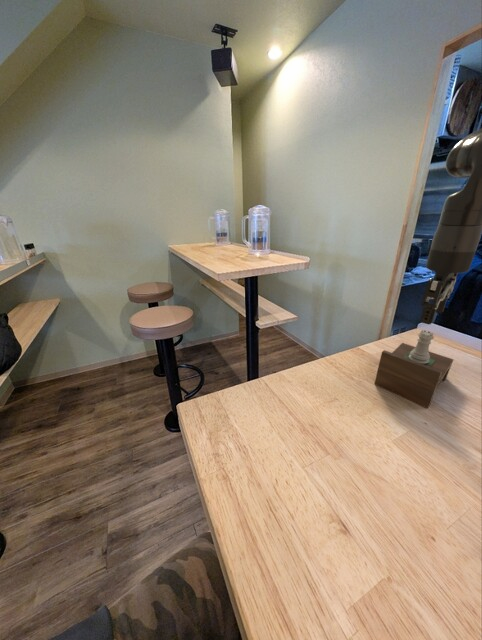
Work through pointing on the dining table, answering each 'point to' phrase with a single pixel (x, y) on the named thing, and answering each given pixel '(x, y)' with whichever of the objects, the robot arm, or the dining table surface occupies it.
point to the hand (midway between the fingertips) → (431, 317)
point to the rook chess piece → (422, 348)
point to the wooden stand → (412, 374)
